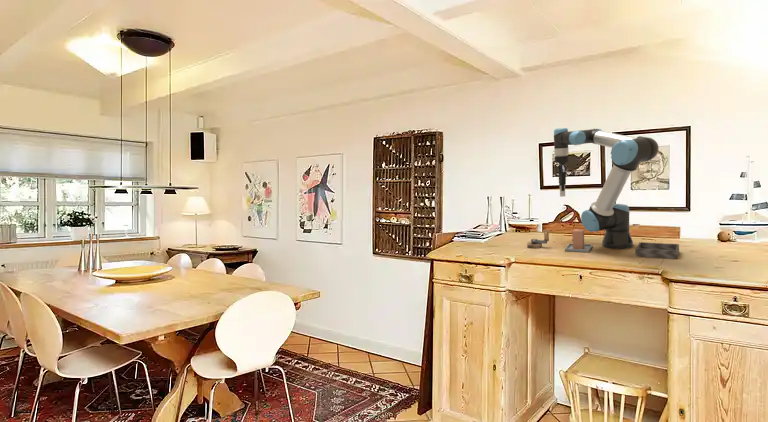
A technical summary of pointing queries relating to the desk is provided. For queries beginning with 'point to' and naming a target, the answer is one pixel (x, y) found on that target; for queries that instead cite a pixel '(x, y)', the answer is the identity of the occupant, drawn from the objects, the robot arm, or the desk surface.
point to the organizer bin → (657, 250)
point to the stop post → (578, 238)
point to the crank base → (534, 245)
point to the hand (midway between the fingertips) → (562, 196)
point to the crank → (546, 238)
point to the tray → (586, 249)
